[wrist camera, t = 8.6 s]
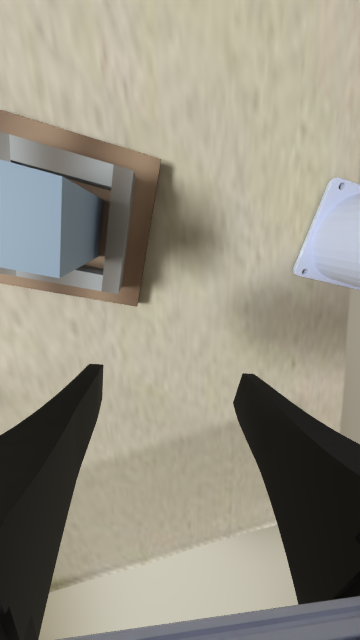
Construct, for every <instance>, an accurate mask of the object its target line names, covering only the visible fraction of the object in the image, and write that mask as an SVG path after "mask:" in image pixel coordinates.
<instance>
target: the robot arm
mask: <svg viewBox="0 0 360 640" xmlns="http://www.w3.org/2000/svg"><path fill="white" fill-rule="evenodd" d="M340 184H341V188H340V189H339V185H340ZM304 269H305V271H304V273H302V271H303V270H304ZM293 273H294V274H295V275H297V276H301V277H305V278H310V279H314V280H318V281H323V282H327V283H331V284H336V285H340V286H344V287H349V288H353V289H357V290H360V185H359V184H356V183H354V182H351V181H348V180H345V179H342V178H339V177H337V178H333V179H332V180H330V182H329V183H328V186H327V188H326V191H325V193H324V195H323V198H322V200H321V203H320V205H319V208H318V210H317V212H316V215H315V217H314V220H313V222H312V224H311V227H310V229H309V232H308V234H307V237H306V239H305V241H304V244H303V246H302V249H301V251H300V254H299V256H298V258H297V261H296V263H295V266H294V268H293ZM102 386H103V365H99V364H89V365H88V366H87V367H86V368H85V369H84V370H83V371H82V372H81V373H80V374H79V375H78V376H77V377H76V378H75V379H74V380H73V381H71V382H70V383H69V384H68V385H67V386H66V387H65V388H64V389H63V390H62V391H60V392H59V393H58V394H57V395H56V396H55V397H53V398H52V399H51V400H50V401H48V402H47V403H46V404H45V405H44V406H42V407H41V408H40V409H38V410H37V411H36V412H35V413H33V414H32V415H30V416H29V417H28V418H26V419H25V420H23V421H22V422H21V423H19V424H18V425H16V426H15V427H13V428H12V429H10V430H8V431H7V432H5V433H4V434H2V435H0V640H38V638H39V634H40V629H41V624H42V620H43V616H44V611H45V607H46V603H47V598H48V594H49V590H50V585H51V581H52V577H53V572H54V568H55V564H56V560H57V556H58V552H59V547H60V543H61V539H62V535H63V531H64V527H65V523H66V519H67V515H68V511H69V507H70V503H71V499H72V495H73V491H74V488H75V484H76V480H77V477H78V473H79V470H80V467H81V464H82V461H83V458H84V456H85V453H86V450H87V447H88V444H89V441H90V439H91V436H92V433H93V430H94V427H95V424H96V421H97V418H98V414H99V410H100V405H101V401H102ZM233 404H234V408H235V412H236V415H237V418H238V421H239V424H240V426H241V428H242V431H243V433H244V435H245V438H246V440H247V442H248V444H249V447H250V449H251V451H252V453H253V456H254V458H255V460H256V462H257V465H258V467H259V470H260V472H261V475H262V477H263V480H264V483H265V486H266V489H267V492H268V495H269V498H270V501H271V504H272V508H273V511H274V514H275V517H276V521H277V524H278V527H279V531H280V534H281V538H282V541H283V545H284V549H285V552H286V556H287V560H288V563H289V568H290V571H291V576H292V579H293V584H294V587H295V591H296V596H297V600H298V605H294V606H287V607H280V608H273V609H266V610H259V611H252V612H245V613H238V614H231V615H224V616H217V617H210V618H204V619H197V620H190V621H183V622H176V623H169V624H162V625H155V626H148V627H141V628H134V629H127V630H120V631H113V632H106V633H99V634H93V635H86V636H78V637H71V638H64V639H57V640H360V444H358V443H356V442H354V441H352V440H351V439H349V438H347V437H345V436H343V435H341V434H340V433H338V432H336V431H334V430H333V429H331V428H329V427H328V426H326V425H325V424H323V423H321V422H320V421H318V420H316V419H315V418H313V417H312V416H310V415H309V414H307V413H306V412H305V411H303V410H302V409H300V408H299V407H297V406H296V405H295V404H293V403H292V402H290V401H289V400H288V399H286V398H285V397H284V396H282V395H281V394H280V393H278V392H277V391H276V390H275V389H273V388H272V387H271V386H269V385H268V384H267V383H265V382H264V381H263V380H261V379H260V378H258V377H257V376H256V375H254V374H244V373H243V374H242V377H241V380H240V383H239V386H238V390H237V393H236V396H235V399H234V402H233Z"/></svg>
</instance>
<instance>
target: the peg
mask: <svg viewBox="0 0 360 640" xmlns="http://www.w3.org/2000/svg"><path fill="white" fill-rule="evenodd" d="M103 204H104V200H103V199H101V198H99V197H98V196H96V195H94V194H92V193H91V192H89V191H87V190H85V189H84V188H82V187H80V186H78V185H77V184H75V183H73V182H71V181H69V180H68V179H66V178H64V177H62V176H59V175H55V174H52V173H48V172H44V171H41V170H37V169H33V168H30V167H26V166H22V165H19V164H15V163H11V162H8V161H4V160H0V267H1V268H6V269H12V270H17V271H23V272H28V273H33V274H39V275H44V276H50V277H55V278H61V277H63V276H65V275H66V274H68V273H70V272H72V271H74V270H75V269H77V268H79V267H81V266H82V265H84V264H86V263H88V262H90V261H91V260H93V259H95V258H97V257H98V256H99V249H100V238H101V226H102V215H103Z"/></svg>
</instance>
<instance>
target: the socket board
mask: <svg viewBox="0 0 360 640" xmlns="http://www.w3.org/2000/svg"><path fill="white" fill-rule="evenodd" d="M0 160H4V161H8V162H11V163H15V164H19V165H22V166H26V167H30V168H33V169H37V170H41V171H44V172H48V173H52V174H55V175H59V176H62V177H64V178H66V179H68V180H69V181H71V182H73V183H75V184H77V185H78V186H80V187H82V188H84V189H85V190H87V191H89V192H91V193H92V194H94V195H96V196H98V197H99V198H101V199H103V200H104V204H103V215H102V226H101V238H100V249H99V256H98V257H97V258H95V259H93V260H91V261H90V262H88V263H86V264H84V265H82V266H81V267H79V268H77V269H75V270H74V271H72V272H70V273H68V274H66V275H65V276H63V277H61V278H55V277H50V276H44V275H39V274H33V273H28V272H23V271H17V270H12V269H6V268H1V267H0V283H1V284H7V285H13V286H19V287H25V288H31V289H37V290H43V291H49V292H54V293H60V294H66V295H72V296H78V297H84V298H90V299H96V300H102V301H108V302H113V303H119V304H125V305H131V306H137V305H138V298H139V292H140V286H141V280H142V274H143V268H144V261H145V255H146V249H147V243H148V237H149V231H150V224H151V218H152V212H153V206H154V200H155V194H156V187H157V181H158V175H159V169H160V163H161V159H158V158H155V157H152V156H148V155H145V154H142V153H139V152H135V151H132V150H129V149H126V148H123V147H119V146H116V145H113V144H110V143H106V142H103V141H100V140H97V139H93V138H90V137H87V136H84V135H80V134H77V133H74V132H71V131H67V130H64V129H61V128H58V127H54V126H51V125H48V124H45V123H42V122H38V121H35V120H32V119H29V118H25V117H22V116H19V115H16V114H12V113H9V112H6V111H3V110H0Z"/></svg>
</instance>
